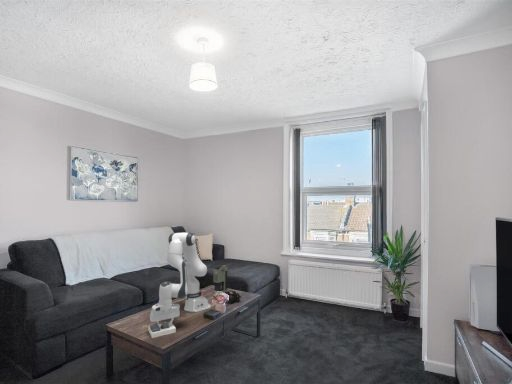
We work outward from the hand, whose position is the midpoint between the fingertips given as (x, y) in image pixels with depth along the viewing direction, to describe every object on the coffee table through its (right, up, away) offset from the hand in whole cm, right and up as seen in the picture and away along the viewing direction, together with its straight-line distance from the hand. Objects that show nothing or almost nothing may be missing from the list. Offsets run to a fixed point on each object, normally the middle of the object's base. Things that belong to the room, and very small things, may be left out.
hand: (164, 325), depth 205 cm
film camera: (+42, -7, +59) cm, 73 cm away
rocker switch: (0, -4, 0) cm, 4 cm away
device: (+30, -7, +78) cm, 84 cm away
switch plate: (-2, -4, -1) cm, 5 cm away
